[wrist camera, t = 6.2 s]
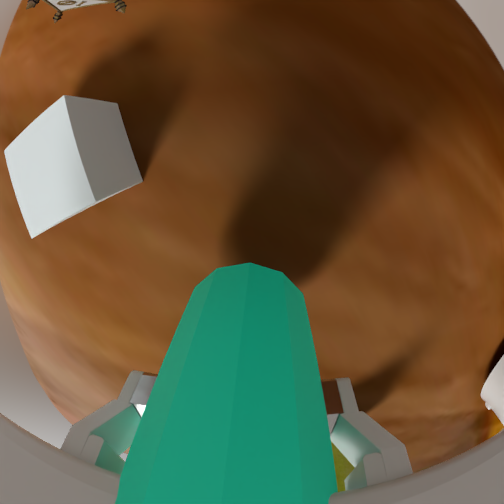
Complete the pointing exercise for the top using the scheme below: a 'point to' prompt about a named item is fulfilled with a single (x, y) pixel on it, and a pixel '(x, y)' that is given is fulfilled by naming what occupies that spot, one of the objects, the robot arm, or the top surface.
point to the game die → (75, 5)
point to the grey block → (70, 161)
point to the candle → (235, 402)
